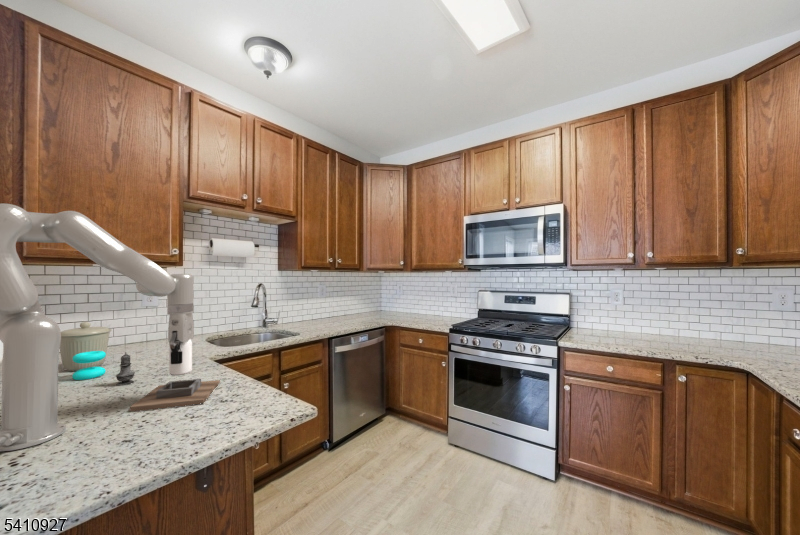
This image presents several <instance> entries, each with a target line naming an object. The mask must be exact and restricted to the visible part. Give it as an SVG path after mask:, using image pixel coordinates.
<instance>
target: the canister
mask: <svg viewBox="0 0 800 535" xmlns="http://www.w3.org/2000/svg"><path fill="white" fill-rule="evenodd" d="M110 332H112V329H111V328H109V327H106V326H91V322H89V321H82V322H81V323H79V327H75V328H71V329H69V328H68V329H66V330H62V331H61V343H60V350H59V355H60V358H61V364H62V367H63V369H64V370H66V371H68V372H76V371H78V370H80V369H83V368H88V367H102V365H104V362H105V361H106V359H107V358H106V357H107V355H106V356H105V357H104V358H103V359H102V360H99V361H96V362H92V363H76V362H74V361H73V359H72V358H73V356H75V355H76V354H79V353H84V352H90V351H104V352H105V353H106V354H107V352H108V345H109V340H110Z"/></svg>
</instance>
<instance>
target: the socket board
mask: <svg viewBox="0 0 800 535" xmlns="http://www.w3.org/2000/svg"><path fill="white" fill-rule="evenodd" d="M219 383H220V384H221V381H220V379H216V380H207V381H202V378H197V379H196V378H195V379H186V380H184V379H183V380H182V379H181V380H171V381H168V382H167V383H165V384H162V385H161V384H160V385H158V386H157V387H155V388H154V389H153V390H151V391H150V392H148V393H147V394H145V395H144V396H142V397H141V398H140V399H139V400H137V401H136V402H135V403H134V404H132V405H130V406H129V412H130V413H132V412H131V411H134V412H141V411H140V410H143V411H150V410H149V409H153V410H159V409H158V408H162V409H168V408H167V407H172V408H176V407H175V406H181V407H186V406H185V405H191V406H194V405H193V404H200V403H204V402H205V401H206V402H207V400H208V399H209V398H210V397H211V395H212V394H213V393H214V392H213V390H214V389H215V388H216V387H217V386H218V384H219ZM218 387H219V386H218ZM218 387H217V388H218ZM217 388H216V389H217ZM216 389H215V390H216ZM212 392H213V393H212ZM211 393H212V394H211ZM210 394H211V395H210ZM209 396H210V397H209ZM208 397H209V398H208ZM207 398H208V399H207ZM206 399H207V400H206ZM206 402H205V403H206ZM205 403H204V404H205ZM200 405H201V404H200Z"/></svg>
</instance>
